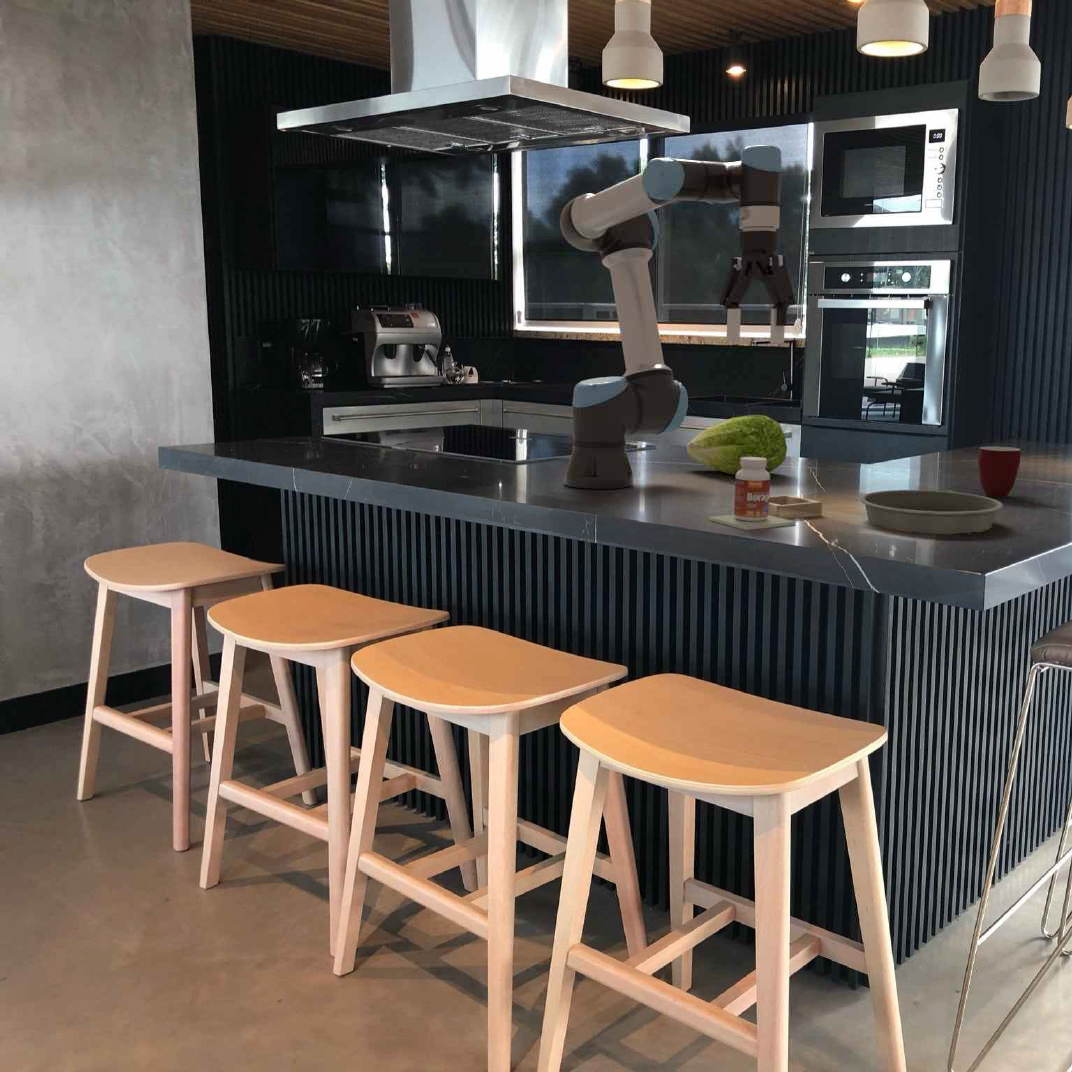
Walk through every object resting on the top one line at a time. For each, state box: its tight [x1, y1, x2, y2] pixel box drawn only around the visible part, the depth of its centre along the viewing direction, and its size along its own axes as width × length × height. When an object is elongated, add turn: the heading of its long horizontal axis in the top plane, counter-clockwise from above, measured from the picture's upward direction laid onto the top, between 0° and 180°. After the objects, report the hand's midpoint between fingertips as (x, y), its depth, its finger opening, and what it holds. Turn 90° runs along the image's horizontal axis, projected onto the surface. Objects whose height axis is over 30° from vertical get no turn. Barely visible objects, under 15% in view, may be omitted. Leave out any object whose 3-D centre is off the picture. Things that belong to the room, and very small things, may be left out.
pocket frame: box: [768, 494, 823, 520], centre depth 218 cm, size 10×10×2 cm
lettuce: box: [686, 414, 788, 476], centre depth 272 cm, size 17×24×14 cm
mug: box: [977, 446, 1022, 499], centre depth 239 cm, size 11×8×10 cm
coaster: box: [708, 514, 796, 531], centre depth 209 cm, size 11×11×1 cm
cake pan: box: [859, 489, 1004, 535], centre depth 209 cm, size 25×25×4 cm
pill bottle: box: [733, 457, 771, 521], centre depth 208 cm, size 6×6×11 cm
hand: (754, 343), depth 225 cm, fingers open, 13 cm apart
